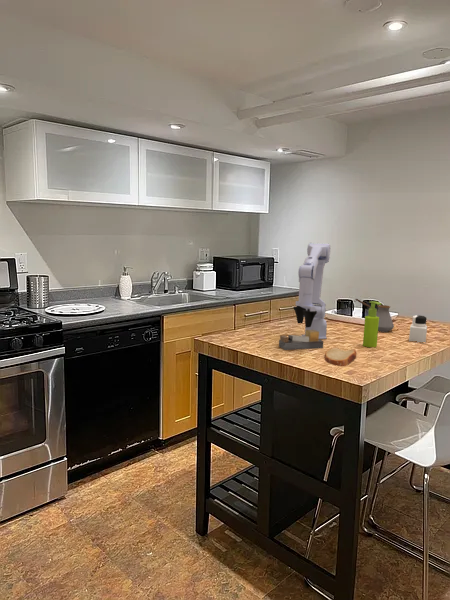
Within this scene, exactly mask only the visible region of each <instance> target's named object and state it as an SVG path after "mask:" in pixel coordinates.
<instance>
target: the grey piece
mask: <svg viewBox="0 0 450 600" xmlns="http://www.w3.org/2000/svg"><path fill="white" fill-rule="evenodd" d="M288 339H289V338H288V335H285V334H284V335H280V336H279V340H278V347H279V348H281V349H282V350H284V351H287V350H288V351H291V350H293V351H294V350H311V349H312V350H313V349H323V348H324V340H323V339H319V340H318V341H309V342H303V341H289V340H288Z"/></svg>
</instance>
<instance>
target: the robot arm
mask: <svg viewBox="0 0 450 600" xmlns="http://www.w3.org/2000/svg"><path fill="white" fill-rule="evenodd" d="M306 251H307V257H306V258H305V259H304V262H303V263H302V264H301V265H300V266H298V273H297V274H298V282H299V285H298V286H299V287H298V288H299V289H298V300H295V306H293V310H294V313H295V317H296V322H297V324H303V323H304V327H305V329H304V334H301V335H300V336H305V334H306V330H316V331H318V332H319V339H320V340H324V339H325V340H326V339H327V330H328V329H327V328H328V327H327V326H328V324H327V320H326V319H325V318H326V306H327V305H326V301H324V300H323V299H322V298H321V295H322V287H323V286H322V285H323V278H324V269H325V265H326V264H327V263H329V261H330V259H331V257H330V256H331V244H330V243H319V242H317V243H315V242H313V243H312V242H309V243H308V244H307V249H306Z"/></svg>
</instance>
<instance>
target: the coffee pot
mask: <svg viewBox="0 0 450 600" xmlns="http://www.w3.org/2000/svg"><path fill="white" fill-rule="evenodd" d="M355 302H358V303H360V304H361V305H364V306H365V307H367V308H368V309H370V308H371V305H369V304H367V303H366V302H365V301H361V300H360V299H358V298H355V299H354V303H355ZM376 305H377V304H376ZM390 308H391V306H390V305H383V304H381V305H377V312H376V316H377V317H379V325H378V331H381V332H380V333H389V332H388V331H392V330H393V329H394V328H395V325H394V322H393V320H392V316H391V313H390Z"/></svg>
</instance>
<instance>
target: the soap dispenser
mask: <svg viewBox="0 0 450 600" xmlns="http://www.w3.org/2000/svg"><path fill="white" fill-rule="evenodd" d="M369 303H370V307H371V308H368V314H367V315H365V316H364V325H363V326H364V327H363V336H362V337H363V339H362V346H363V347H365V346H366V347H365V348H370V347H375V348H377V347H376V346H377V345H378V337H379V336H378V335H379V334H378V333H379V332H378V325H379V317H377V316H376V313H377V310H378V308H376V305H382V303H381V302H379V301H373V300H371V301H369Z"/></svg>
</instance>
